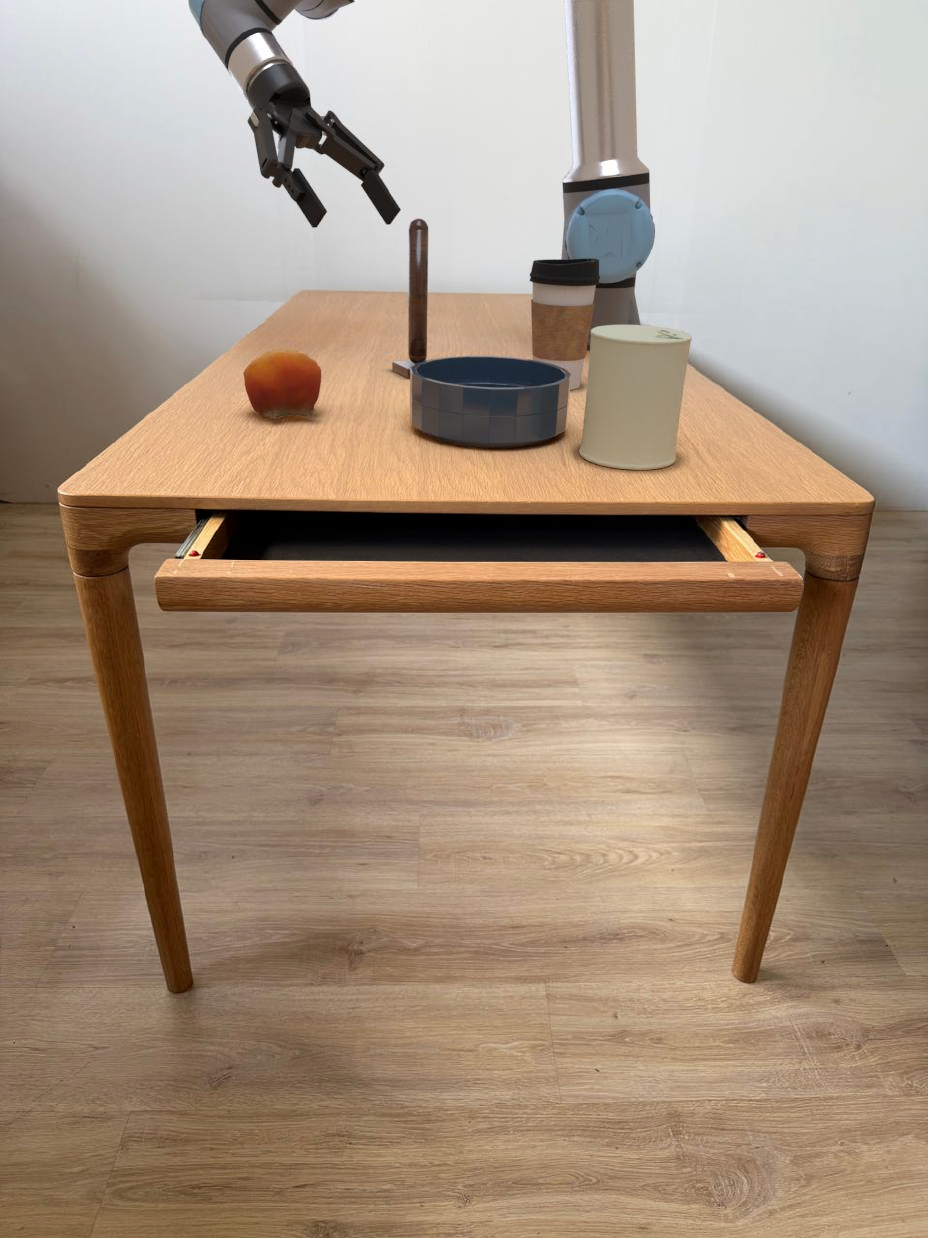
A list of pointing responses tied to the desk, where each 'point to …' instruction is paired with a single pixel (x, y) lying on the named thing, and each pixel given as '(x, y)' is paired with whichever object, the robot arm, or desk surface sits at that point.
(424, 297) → the stick
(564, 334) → the coffee cup
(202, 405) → the desk surface
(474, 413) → the bowl
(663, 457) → the can
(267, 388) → the fruit
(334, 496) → the desk surface
